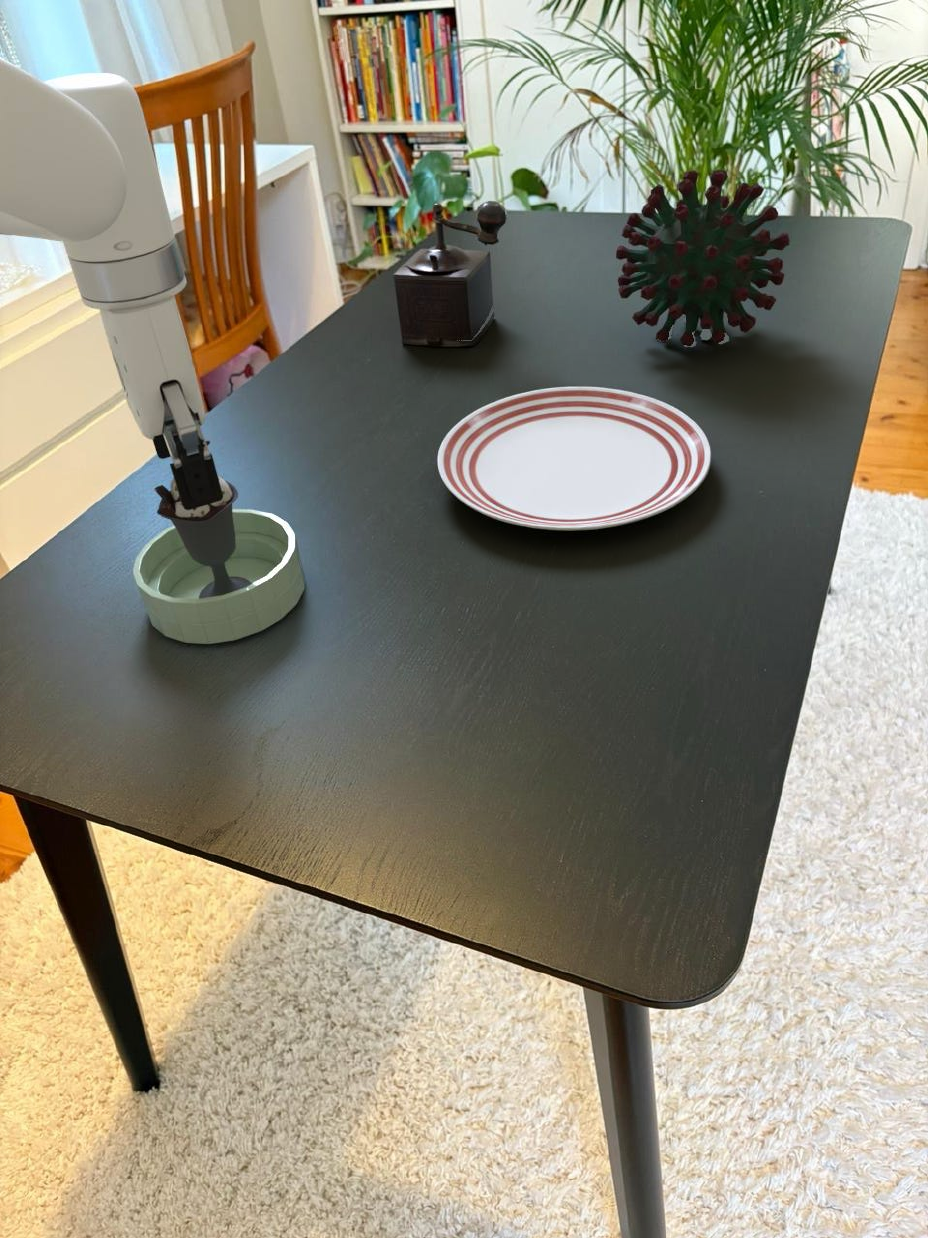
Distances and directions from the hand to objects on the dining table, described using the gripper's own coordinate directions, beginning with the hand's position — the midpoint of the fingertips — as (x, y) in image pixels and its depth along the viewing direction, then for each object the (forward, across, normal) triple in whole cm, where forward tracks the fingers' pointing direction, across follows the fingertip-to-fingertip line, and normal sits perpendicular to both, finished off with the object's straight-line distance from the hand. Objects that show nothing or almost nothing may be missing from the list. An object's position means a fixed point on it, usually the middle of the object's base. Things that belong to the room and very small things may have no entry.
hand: (189, 477), depth 81 cm
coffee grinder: (+12, -41, +44) cm, 62 cm away
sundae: (+12, 0, 0) cm, 13 cm away
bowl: (+13, 0, 0) cm, 13 cm away
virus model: (+12, -21, +67) cm, 71 cm away
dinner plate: (+13, -1, +37) cm, 39 cm away
